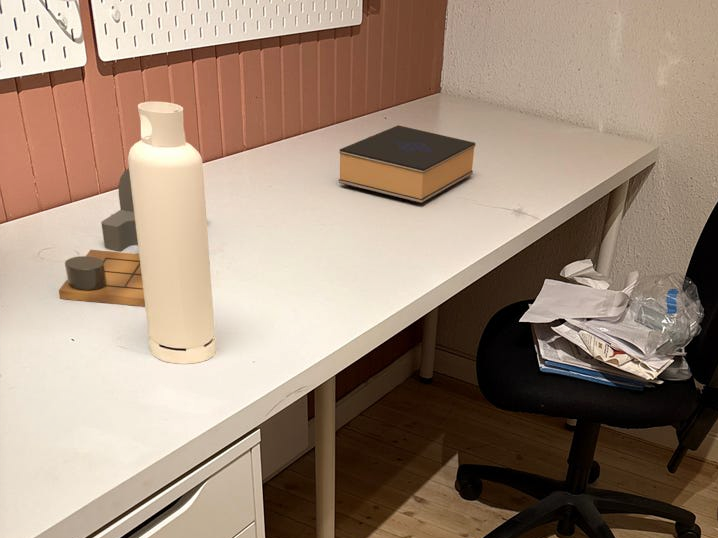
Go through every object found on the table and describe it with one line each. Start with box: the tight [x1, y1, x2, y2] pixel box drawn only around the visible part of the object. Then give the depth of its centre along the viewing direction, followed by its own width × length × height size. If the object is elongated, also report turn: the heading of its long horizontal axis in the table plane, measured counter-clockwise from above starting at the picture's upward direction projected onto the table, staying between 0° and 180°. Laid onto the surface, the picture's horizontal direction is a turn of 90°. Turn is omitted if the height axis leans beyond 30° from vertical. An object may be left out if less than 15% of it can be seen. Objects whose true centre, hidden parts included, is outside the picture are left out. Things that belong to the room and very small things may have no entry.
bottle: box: [127, 101, 217, 365], centre depth 114 cm, size 8×8×28 cm
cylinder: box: [64, 255, 107, 290], centre depth 131 cm, size 5×5×3 cm
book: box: [338, 125, 476, 204], centre depth 186 cm, size 17×25×7 cm
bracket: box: [100, 167, 138, 252], centre depth 148 cm, size 10×18×11 cm, turn 169°
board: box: [58, 249, 145, 307], centre depth 136 cm, size 16×16×1 cm
